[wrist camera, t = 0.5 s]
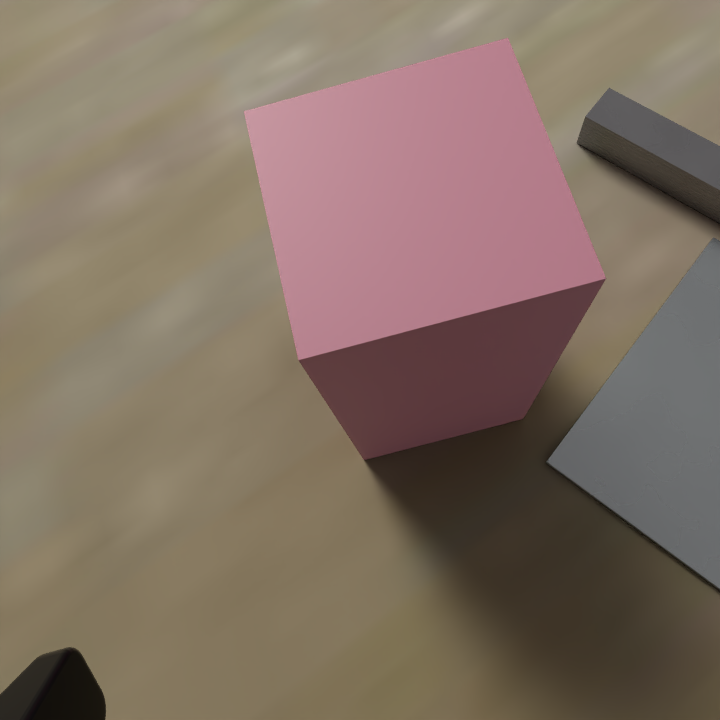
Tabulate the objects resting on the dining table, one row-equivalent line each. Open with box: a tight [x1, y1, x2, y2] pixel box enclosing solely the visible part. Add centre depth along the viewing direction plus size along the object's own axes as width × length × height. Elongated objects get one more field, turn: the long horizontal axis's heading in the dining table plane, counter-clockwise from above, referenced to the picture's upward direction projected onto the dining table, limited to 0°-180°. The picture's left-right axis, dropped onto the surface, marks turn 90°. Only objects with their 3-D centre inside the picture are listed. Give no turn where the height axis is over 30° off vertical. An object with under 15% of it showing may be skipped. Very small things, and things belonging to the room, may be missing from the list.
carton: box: [244, 38, 606, 460], centre depth 17 cm, size 6×6×11 cm
